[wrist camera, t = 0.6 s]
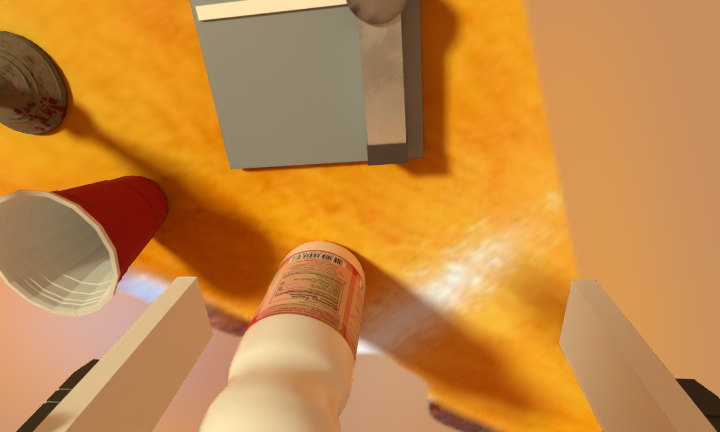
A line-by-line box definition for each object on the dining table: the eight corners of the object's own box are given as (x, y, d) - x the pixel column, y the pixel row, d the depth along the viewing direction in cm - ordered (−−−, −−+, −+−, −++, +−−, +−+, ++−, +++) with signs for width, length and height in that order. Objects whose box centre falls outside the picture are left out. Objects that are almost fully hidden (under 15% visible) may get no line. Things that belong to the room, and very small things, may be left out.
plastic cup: (171, 141, 37) (77, 186, 26) (205, 240, 42) (137, 313, 31) (72, 154, 39) (-55, 201, 28) (115, 248, 43) (20, 319, 32)
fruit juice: (382, 291, 42) (355, 673, 17) (311, 321, 45) (198, 688, 20) (337, 223, 39) (222, 565, 14) (264, 259, 42) (59, 600, 17)
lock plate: (150, -197, 27) (99, -243, 22) (413, -247, 24) (416, -310, 20) (235, 165, 38) (212, 183, 33) (423, 153, 35) (426, 171, 31)
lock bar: (346, -40, 28) (340, -48, 25) (407, -47, 27) (408, -57, 25) (364, 155, 34) (360, 166, 31) (414, 152, 34) (416, 163, 31)
